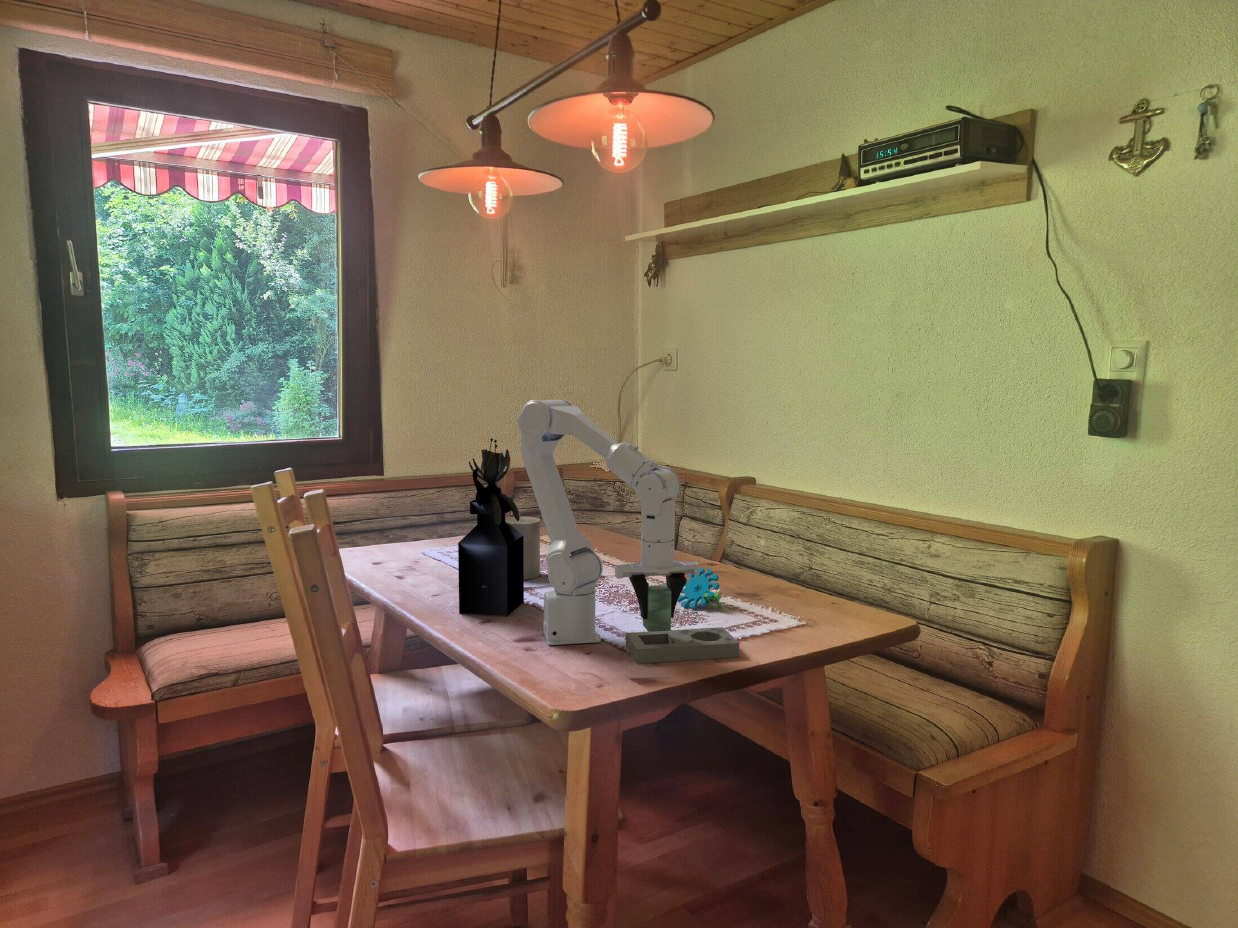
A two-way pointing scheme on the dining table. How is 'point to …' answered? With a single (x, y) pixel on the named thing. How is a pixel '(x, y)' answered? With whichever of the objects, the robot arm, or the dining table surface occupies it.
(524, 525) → the pillar candle
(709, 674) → the dining table surface
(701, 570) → the gear
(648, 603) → the square peg
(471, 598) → the vase
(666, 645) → the hole plate
